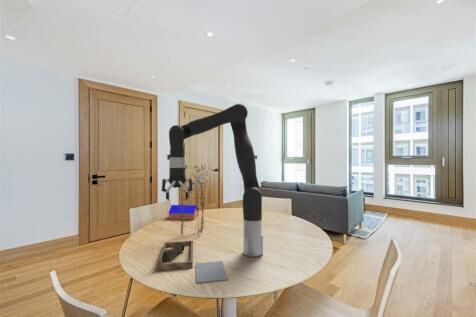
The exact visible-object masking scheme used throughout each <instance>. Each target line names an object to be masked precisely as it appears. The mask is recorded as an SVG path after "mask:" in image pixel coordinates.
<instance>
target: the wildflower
mask: <svg viewBox="0 0 476 317" xmlns="http://www.w3.org/2000/svg"><path fill="white" fill-rule="evenodd" d="M204 166H206V163H204ZM188 167H189V165H188V164H185V170H187V168H188ZM194 168H195V173H192V175H193V176H194V178H195V181H192V191H189V197H191V194H192V193H193V191H197V187H199V185H200V187H199V189H198V192H200V191H201V193H198V194H197V193H195V195H196V196H198V197H196V206H199V205H198V203H199V199H200V200H201V202H200V206H201V208H199V209H198V213H200V211H201V212H202V213H201V214H202V215H201V214H200V215H201V220H200V221H199V218H200V217H197V223H198V224H197V228H196V231H197V233H196V235H197V236H198V238H200V235H202V234H203V229H204V228H205V226H204V224H205V223H206V221H205V220H204V213H205V211H204V207H205V202H204V200H205V197H204V193H205V192H206V190H203V189H206V187H207V184H205V183H208V182H209V181H208V180H206V179H205V178H206V176H208V173H207V170H206V168H204V167H203V164H201V169H200V168H197V165H196V166H194ZM210 169H211V167H208V170H210ZM205 170H206V171H205ZM203 171H204V172H203ZM204 173H205V174H204ZM195 174H198V178H197V175H195ZM200 174H201V175H200ZM204 175H205V176H204ZM203 177H204V178H203ZM205 181H206V182H205ZM193 187H194V188H193ZM187 188H188V189H189V188H190V187H189V186H187ZM194 189H195V190H194ZM179 190H180V191H179V193H180V195H181V197H180V198H181V199H180V201H181V202H180V205H182V206H183V205H188V204H187V203H186V204H184V202H185V201H186V202H189V200H190V198H189V197H188V199H187V200H186V199H185V198H183V197H186V191H185V190H184V189H183V187H181V189H179ZM200 194H201V195H200ZM199 195H200V196H199ZM182 206H181V208H182ZM183 207H184V206H183ZM185 207H186V206H185ZM183 210H184V209H183ZM181 219H182V220H180V234H181V237H184V230H185V229H186V227H184V226H185V225H184V223H185V221H186V220H183V214H182V209H181Z"/></svg>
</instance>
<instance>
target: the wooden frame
mask: <svg viewBox="0 0 476 317" xmlns="http://www.w3.org/2000/svg"><path fill="white" fill-rule="evenodd" d="M179 243H181V244H184V247H186V246H190V260H187V261H175V262H165V263H162V256H163V252H164V251H166V250H167V248H173V247H175V246H177V245H178V244H179ZM193 251H194V240H184V241H183V240H179V241H166V242H164V243H163V246H162V249H161V252H160V254H159V258H158V261H157V263H156V271H158V272H159V271H169V270H170V271H171V270H179V269H180V270H181V269H190V268H193V267H194V266H193V261H194V252H193Z"/></svg>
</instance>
